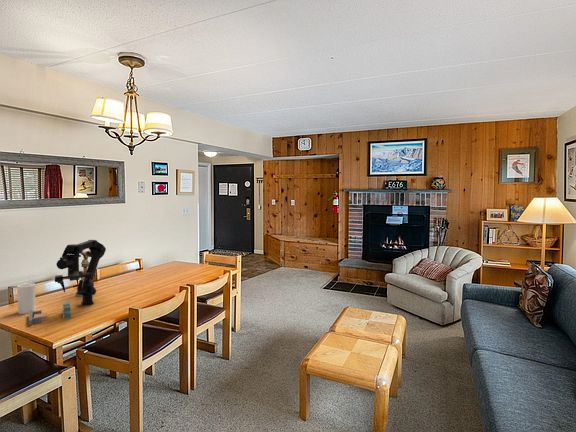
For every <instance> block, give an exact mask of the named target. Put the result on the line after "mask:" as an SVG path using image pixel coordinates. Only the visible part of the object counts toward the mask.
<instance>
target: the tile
mask: <svg viewBox="0 0 576 432" xmlns="http://www.w3.org/2000/svg"><path fill="white" fill-rule="evenodd" d="M35 317H41V322H42V321H47V320H48V312H41V314H35V315H34V317H33V318H35Z"/></svg>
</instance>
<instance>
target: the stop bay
mask: <svg viewBox="0 0 576 432" xmlns="http://www.w3.org/2000/svg"><path fill="white" fill-rule="evenodd" d="M41 313H42V310H40V309H39V310H35V311H33V310H30V311H29V313H28V327H32V326H33V325H35V324H36V325H37V324H41V323H42V321H41V317H35V318H34V315H35V314H41Z"/></svg>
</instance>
